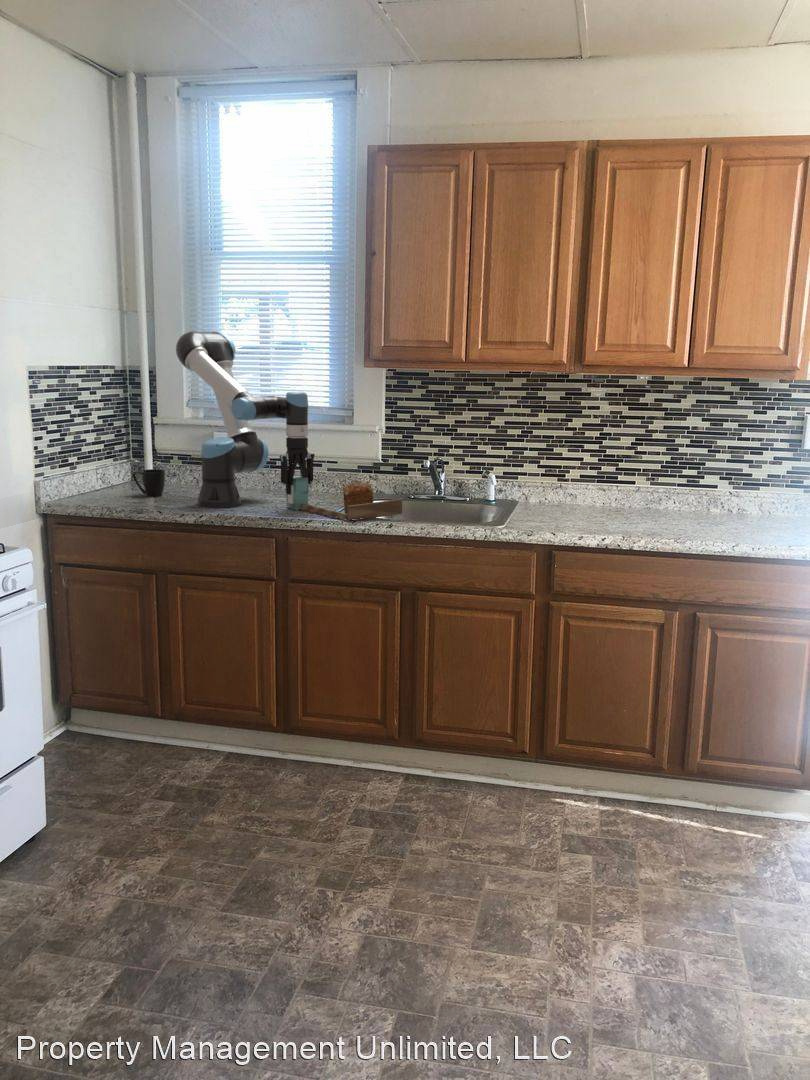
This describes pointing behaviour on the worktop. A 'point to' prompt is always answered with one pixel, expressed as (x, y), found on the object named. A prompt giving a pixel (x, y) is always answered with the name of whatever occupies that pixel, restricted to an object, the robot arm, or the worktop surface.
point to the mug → (152, 482)
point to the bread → (357, 494)
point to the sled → (352, 511)
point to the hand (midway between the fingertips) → (297, 502)
